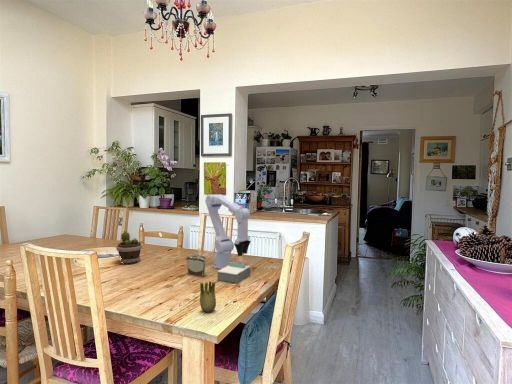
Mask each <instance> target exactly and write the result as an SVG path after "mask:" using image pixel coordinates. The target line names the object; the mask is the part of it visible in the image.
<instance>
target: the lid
mask: <svg viewBox="0 0 512 384" xmlns="http://www.w3.org/2000/svg"><path fill="white" fill-rule="evenodd" d="M249 267H250V268H251V265H246V263H241V262H240V263H238V262H232V261H231V262H229V265H228V266H226V267H225V268H223V269H219V270H217V273H218V272H221V273H227V274H233V275H238V274H239V273H241V272H243V271H244V270H246V269H248V268H249Z"/></svg>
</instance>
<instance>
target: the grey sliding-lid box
mask: <svg viewBox="0 0 512 384" xmlns="http://www.w3.org/2000/svg"><path fill="white" fill-rule="evenodd" d="M249 276H251V266H250V267H249V268H248V269H246V270H244V271H243V272H241V273H239V274H238V275H233V274H227V273H221V272H218V271H217V282H218V281H219V282H224V283H228V284H234V285H237V284H239V283H240V282H241V281H243V280H245V279H246V278H248V277H249Z"/></svg>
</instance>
